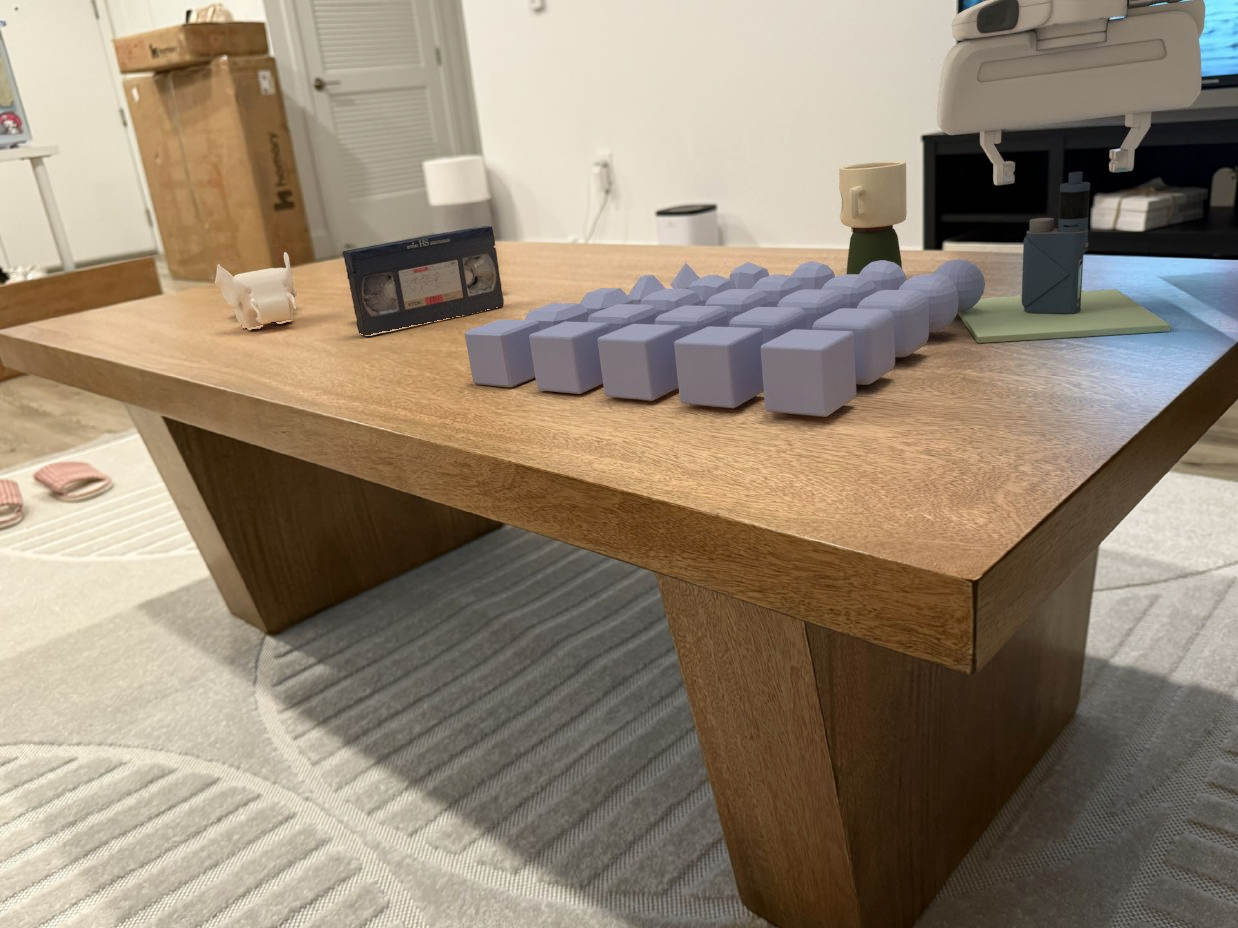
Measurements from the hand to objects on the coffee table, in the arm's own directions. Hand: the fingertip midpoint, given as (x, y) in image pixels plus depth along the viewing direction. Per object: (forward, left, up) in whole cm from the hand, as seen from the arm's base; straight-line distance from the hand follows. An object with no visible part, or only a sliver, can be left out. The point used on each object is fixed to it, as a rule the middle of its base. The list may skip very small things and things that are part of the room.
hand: (1061, 177), depth 85 cm
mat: (0, 0, -12) cm, 12 cm away
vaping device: (0, 0, -12) cm, 12 cm away
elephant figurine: (+90, -23, -12) cm, 94 cm away
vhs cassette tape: (+66, -19, -12) cm, 70 cm away
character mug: (+14, -22, -12) cm, 29 cm away
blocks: (+28, +4, -12) cm, 31 cm away
